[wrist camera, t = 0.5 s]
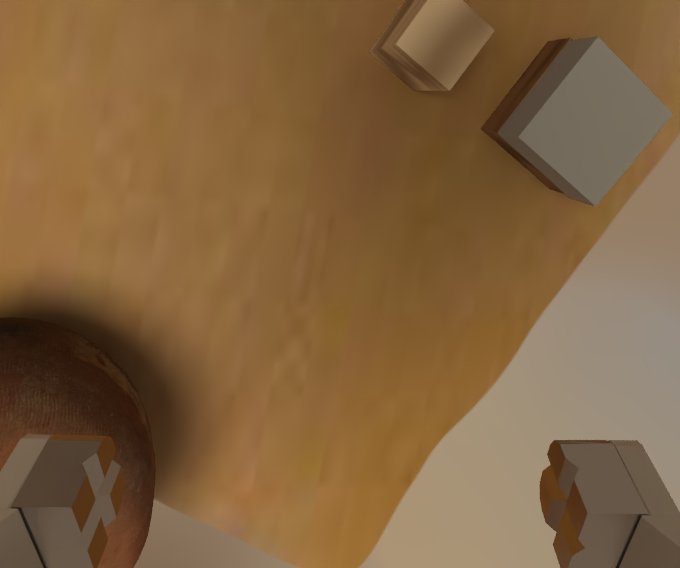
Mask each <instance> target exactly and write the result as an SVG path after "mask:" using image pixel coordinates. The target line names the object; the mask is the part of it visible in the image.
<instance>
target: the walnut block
mask: <svg viewBox="0 0 680 568" xmlns="http://www.w3.org/2000/svg"><path fill="white" fill-rule="evenodd" d="M571 40H572V39H571V38H568V39H561V40H555V41H548V42H547V44H546V45H545V46H544V47H543V49H542V50H541V51H540V53H539V54H538V55H537V56H536V58H535V59H534V60H533V62H532V63H531V64H530V66H529V67H528V68H527V69H526V71H525V72H524V73H523V75H522V76H521V77H520V79H519V80H518V81H517V82H516V84H515V85H514V86H513V88H512V89H511V90H510V91H509V93H508V94H507V95H506V97H505V98H504V99H503V101H502V102H501V103H500V104H499V106H498V107H497V108H496V110H495V111H494V112H493V113H492V115H491V116H490V117H489V119H488V120H487V121H486V123H485V124H484V125H483V126H482V128H481V129H482V130H483V131H484V132H485V133H487V134H488V135H489V136H490V137H491V138H492V139H493V140H495V141H496V142H497V143H498V144H499V145H500V146H501V147H503V148H504V149H505V150H506V151H507V152H508V153H510V154H511V155H512V156H513V157H514V158H515V159H516V160H518V161H519V162H520V163H521V164H522V165H523V166H524V167H526V168H527V169H528V170H529V171H530V172H531V173H532V174H534V175H535V176H536V177H537V178H538V179H539V180H540V181H542V182H543V183H544V184H545V185H546V186H547V187H549V188H550V189H552V190H555V191H558V192H561V193H564V192H563V191H561V190H560V189H559V188H558V187H557V186H556V185H555V184H553V183H552V182H551V181H550V180H549V179H548V178H547V177H546V176H544V175H543V174H542V173H541V172H540V171H539V170H538V169H537V168H535V167H534V166H533V165H532V164H531V163H530V162H529V161H528V160H526V159H525V158H524V157H523V156H522V155H521V154H520V153H519V152H517V151H516V150H515V149H514V148H513V147H512V146H511V145H510V144H508V143H507V142H506V141H505V140H504V139H503V138H502V137H501V136H499V135H498V134H497V133H498V132H499V130H500V129H501V128H502V126H503V125H504V124H505V123H506V121H507V120H508V119H509V118H510V116H511V115H512V114H513V112H514V111H515V110H516V109H517V107H518V106H519V105H520V104H521V102H522V101H523V100H524V98H525V97H526V96H527V95H528V93H529V92H530V91H531V90H532V88H533V87H534V86H535V84H536V83H537V82H538V81H539V79H540V78H541V77H542V76H543V74H544V73H545V72H546V71H547V69H548V68H549V67H550V65H551V64H552V63H553V62H554V60H555V59H556V58H557V57H558V55H559V54H560V53H561V51H562V50H563V49H564V48H565V46H566V45H567V44H568V43H569V41H571ZM564 194H565V193H564Z"/></svg>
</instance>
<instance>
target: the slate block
mask: <svg viewBox="0 0 680 568" xmlns="http://www.w3.org/2000/svg"><path fill="white" fill-rule="evenodd" d="M672 115H673V113H672V112H671V111H670V110H669V109H668V108H667V107H666V106H665V105H664V104H663V103H662V102H661V101H660V100H659V99H658V98H657V97H656V96H655V95H654V94H653V93H652V92H651V91H650V90H649V89H648V87H647V86H646V85H645V84H644V83H643V82H642V81H641V80H640V79H639V78H638V77H637V76H636V75H635V74H634V73H633V72H632V71H631V70H630V69H629V68H628V67H627V66H626V65H625V64H624V63H623V62H622V61H621V60H620V58H619V57H618V56H617V55H616V54H615V53H614V52H613V51H612V50H611V49H610V48H609V47H608V46H607V45H606V44H605V43H604V42H603V41H602V40H601V39H600V38H599V37H591V38H585V39H578V40H571V41H569V43H568V44H567V45H566V46H565V48H564V49H563V50H562V51H561V53H560V54H559V55H558V57H557V58H556V59H555V60H554V62H553V63H552V64H551V65H550V67H549V68H548V69H547V71H546V72H545V73H544V74H543V76H542V77H541V78H540V79H539V81H538V82H537V83H536V84H535V86H534V87H533V88H532V90H531V91H530V92H529V93H528V95H527V96H526V97H525V98H524V100H523V101H522V102H521V104H520V105H519V106H518V107H517V109H516V110H515V111H514V112H513V114H512V115H511V116H510V118H509V119H508V120H507V121H506V123H505V124H504V125H503V126H502V128H501V129H500V130H499V132H498V133H497V134H498V135H499V136H501V137H502V138H503V139H504V140H505V141H506V142H507V143H508V144H510V145H511V146H512V147H513V148H514V149H515V150H516V151H517V152H519V153H520V154H521V155H522V156H523V157H524V158H525V159H526V160H528V161H529V162H530V163H531V164H532V165H533V166H534V167H535V168H537V169H538V170H539V171H540V172H541V173H542V174H543V175H544V176H546V177H547V178H548V179H549V180H550V181H551V182H552V183H553V184H555V185H556V186H557V187H558V188H559V189H560V190H561V191H563V192H564V193H565V194H566V195H567V196H568V197H569V198H571V199H574V200H577V201H580V202H583V203H586V204H589V205H593V206H597V204H598V203H599V202H600V201H601V200H602V198H603V197H604V196H605V195H606V194H607V193H608V191H609V190H610V189H611V188H612V187H613V185H614V184H615V183H616V182H617V181H618V179H619V178H620V177H621V176H622V175H623V173H624V172H625V171H626V170H627V169H628V167H629V166H630V165H631V164H632V163H633V161H634V160H635V159H636V158H637V157H638V155H639V154H640V153H641V152H642V151H643V149H644V148H645V147H646V146H647V145H648V143H649V142H650V141H651V140H652V139H653V137H654V136H655V135H656V134H657V133H658V131H659V130H660V129H661V128H662V127H663V125H664V124H665V123H666V122H667V121H668V120H669V118H670V117H671V116H672Z"/></svg>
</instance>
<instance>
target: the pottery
mask: <svg viewBox="0 0 680 568" xmlns="http://www.w3.org/2000/svg"><path fill="white" fill-rule="evenodd" d="M27 434H52V435H54V434H63V435H90V436H109V437H112V439H113V442H114V445H115V448H116V452H115V454H114V457H113V459H112V460H113V461H115V462H116V463H117V464H118V465H120V466H121V469H122V473H123V480H124V490H123V497H122V503H121V506H120V509H119V512H118V515H117V518H116V519H114V520H113V521H112V522H111V523H110V524H109V525H107V526H106V527H105V531H106V534H107V537H108V542H107V544H106V547H105V550H104V552H103V555H102V558H101V560H100V563H99V565H98V568H133V567H134V566H135V564H136V562H137V560H138V558H139V556H140V554H141V551H142V549H143V547H144V544H145V542H146V539H147V536H148V531H149V526H150V521H151V515H152V507H153V500H154V485H155V454H154V450H153V445H152V438H151V431H150V427H149V422H148V419H147V416H146V412H145V409H144V406H143V404H142V401H141V399H140V397H139V394H138V392H137V390H136V388H135V387H134V385H133V383H132V382H131V380H130V379H129V378H128V376H127V375H126V373H125V372H124V371H123V370H122V369H121V368H120V367H119V366H118V365H117V364H116V363H115V362H114V361H113V360H112V359H111V358H110V357H109V356H108V355H107V354H106V353H105V352H104V351H103V350H102V349H100V348H99V347H98V346H96V345H95V344H94V343H92V342H91V341H89V340H87V339H85V338H83V337H82V336H80V335H78V334H76V333H74V332H72V331H70V330H68V329H65V328H63V327H60V326H58V325H55V324H51V323H47V322H43V321H38V320H32V319H26V318H0V471H1V470H2V468H3V466H4V465H5V463H6V462H7V460H8V458H9V457H10V455H11V453H12V452H13V450H14V448H15V447H16V445H17V444H18V442H19V440H20V439H22V438H23V437H24V436H26V435H27Z"/></svg>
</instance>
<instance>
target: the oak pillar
mask: <svg viewBox="0 0 680 568" xmlns="http://www.w3.org/2000/svg"><path fill="white" fill-rule="evenodd" d="M494 31H495V30H494V29H493V28H492V27H491V26H490V25H489V24H488V23H487V22H485V21H484V20H483V19H482V18H481V17H480V16H479V15H478V14H477V13H476V12H475V11H474V10H473V9H472V8H471V7H470V6H469V5H467V4H466V3H465V2H464V1H463V0H405V2H404V3H403V5H402V6H401V7H400V9H399V10H398V12H397V13H396V14H395V16H394V17H393V19H392V20H391V21H390V23H389V24H388V26H387V27H386V28H385V30H384V31H383V32H382V34H381V35H380V37H379V38H378V39H377V41H376V42H375V44H374V45H373V46H372V48H371V49H370V51H369V53H370V54H372V55H373V56H374V57H375V58H376V59H377V60H379V61H380V62H381V63H382V64H383V65H385V66H386V67H387V68H388V69H389V70H390V71H392V72H393V73H394V74H395V75H396V76H397V77H399V78H400V79H401V80H402V81H403V82H405V83H406V84H407V85H408V86H409V87H410V88H412V89H413V90H414V91H450V90H451V88H452V87H453V86H454V84H455V83H456V82H457V80H458V79H459V78H460V76H461V75H462V74H463V72H464V71H465V70H466V68H467V67H468V66H469V64H470V63H471V62H472V60H473V59H474V58H475V56H476V55H477V54H478V52H479V51H480V50H481V48H482V47H483V46H484V44H485V43H486V42H487V40H488V39H489V38H490V36H491V35H492V34H493V32H494Z"/></svg>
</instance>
